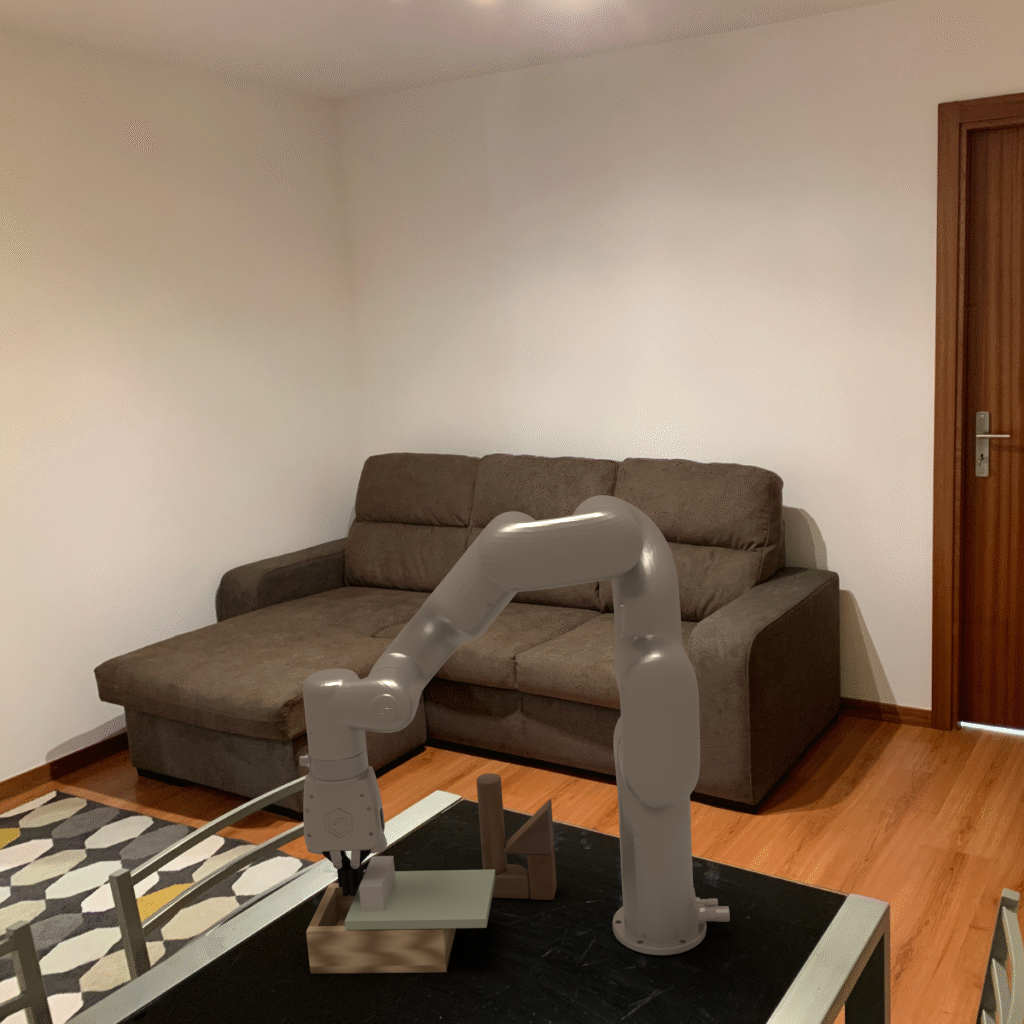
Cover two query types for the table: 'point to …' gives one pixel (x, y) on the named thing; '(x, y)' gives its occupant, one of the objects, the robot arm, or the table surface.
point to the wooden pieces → (516, 846)
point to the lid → (420, 898)
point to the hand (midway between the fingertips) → (351, 890)
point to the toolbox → (371, 943)
